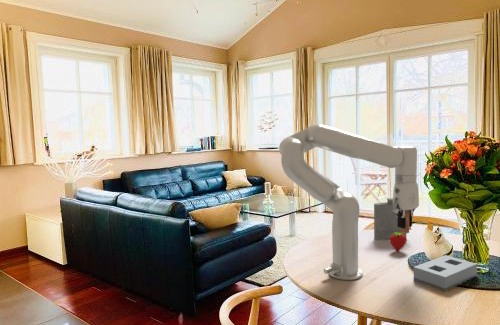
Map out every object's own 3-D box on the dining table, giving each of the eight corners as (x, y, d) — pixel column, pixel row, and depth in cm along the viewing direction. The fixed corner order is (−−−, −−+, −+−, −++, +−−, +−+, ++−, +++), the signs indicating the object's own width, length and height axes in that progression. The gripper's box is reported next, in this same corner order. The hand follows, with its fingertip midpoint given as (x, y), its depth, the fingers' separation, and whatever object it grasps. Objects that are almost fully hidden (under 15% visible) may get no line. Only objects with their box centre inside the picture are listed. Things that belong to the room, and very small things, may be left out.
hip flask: (404, 236, 195) (404, 196, 193) (408, 238, 191) (408, 198, 189) (373, 238, 194) (373, 198, 192) (376, 240, 190) (376, 200, 188)
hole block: (445, 291, 133) (445, 277, 132) (413, 280, 143) (413, 266, 142) (476, 277, 144) (477, 263, 143) (445, 267, 154) (445, 255, 153)
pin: (405, 233, 148) (406, 210, 147) (398, 231, 150) (398, 208, 149) (410, 232, 149) (411, 209, 148) (403, 230, 152) (404, 207, 151)
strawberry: (409, 252, 172) (409, 230, 171) (393, 254, 170) (393, 231, 169) (402, 248, 178) (402, 226, 176) (386, 250, 176) (386, 228, 175)
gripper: (400, 182, 140) (399, 232, 142) (427, 178, 149) (426, 225, 151) (383, 180, 146) (382, 228, 148) (410, 175, 155) (409, 221, 157)
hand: (404, 226), depth 150 cm, fingers closed on pin, 3 cm apart
